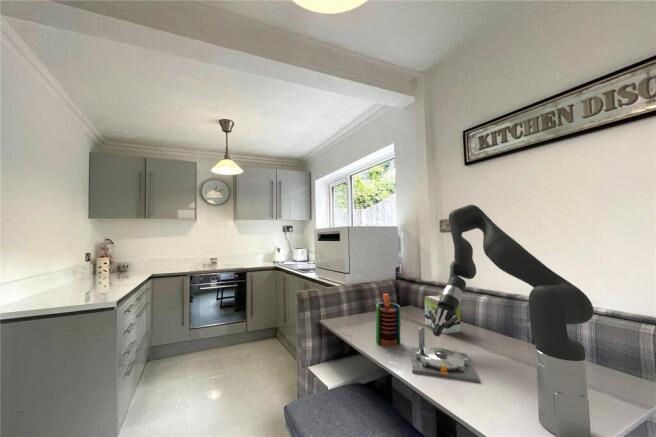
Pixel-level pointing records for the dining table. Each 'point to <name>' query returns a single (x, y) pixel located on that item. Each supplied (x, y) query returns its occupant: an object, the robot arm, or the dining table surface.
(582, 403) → the robot arm
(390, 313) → the motor
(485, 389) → the dining table surface
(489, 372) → the dining table surface
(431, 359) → the sprocket
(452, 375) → the base plate
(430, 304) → the tea box
